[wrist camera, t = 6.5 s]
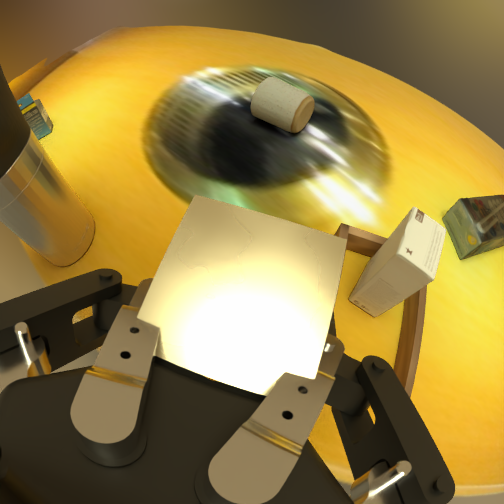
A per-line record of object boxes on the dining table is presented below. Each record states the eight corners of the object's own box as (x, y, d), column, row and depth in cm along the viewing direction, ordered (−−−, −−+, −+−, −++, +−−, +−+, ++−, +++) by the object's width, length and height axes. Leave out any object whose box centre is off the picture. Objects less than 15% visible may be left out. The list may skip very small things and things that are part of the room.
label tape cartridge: (53, 123, 45) (33, 84, 33) (51, 132, 43) (29, 92, 32) (25, 141, 43) (3, 105, 32) (22, 150, 41) (-2, 114, 30)
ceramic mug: (292, 143, 40) (299, 104, 33) (248, 124, 42) (250, 85, 35) (320, 115, 44) (328, 81, 37) (281, 99, 46) (285, 65, 39)
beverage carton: (438, 216, 36) (460, 193, 30) (493, 208, 37) (511, 190, 32) (458, 262, 32) (485, 242, 26) (509, 244, 34) (530, 227, 28)
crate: (295, 385, 26) (302, 386, 22) (332, 237, 33) (341, 223, 30) (392, 403, 24) (408, 405, 21) (413, 264, 32) (427, 253, 28)
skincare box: (375, 319, 29) (437, 285, 18) (345, 299, 30) (395, 255, 19) (394, 277, 31) (450, 230, 20) (366, 258, 32) (414, 203, 21)
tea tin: (193, 361, 15) (127, 342, 6) (219, 291, 17) (195, 194, 8) (268, 386, 15) (306, 406, 6) (290, 314, 17) (347, 239, 8)
